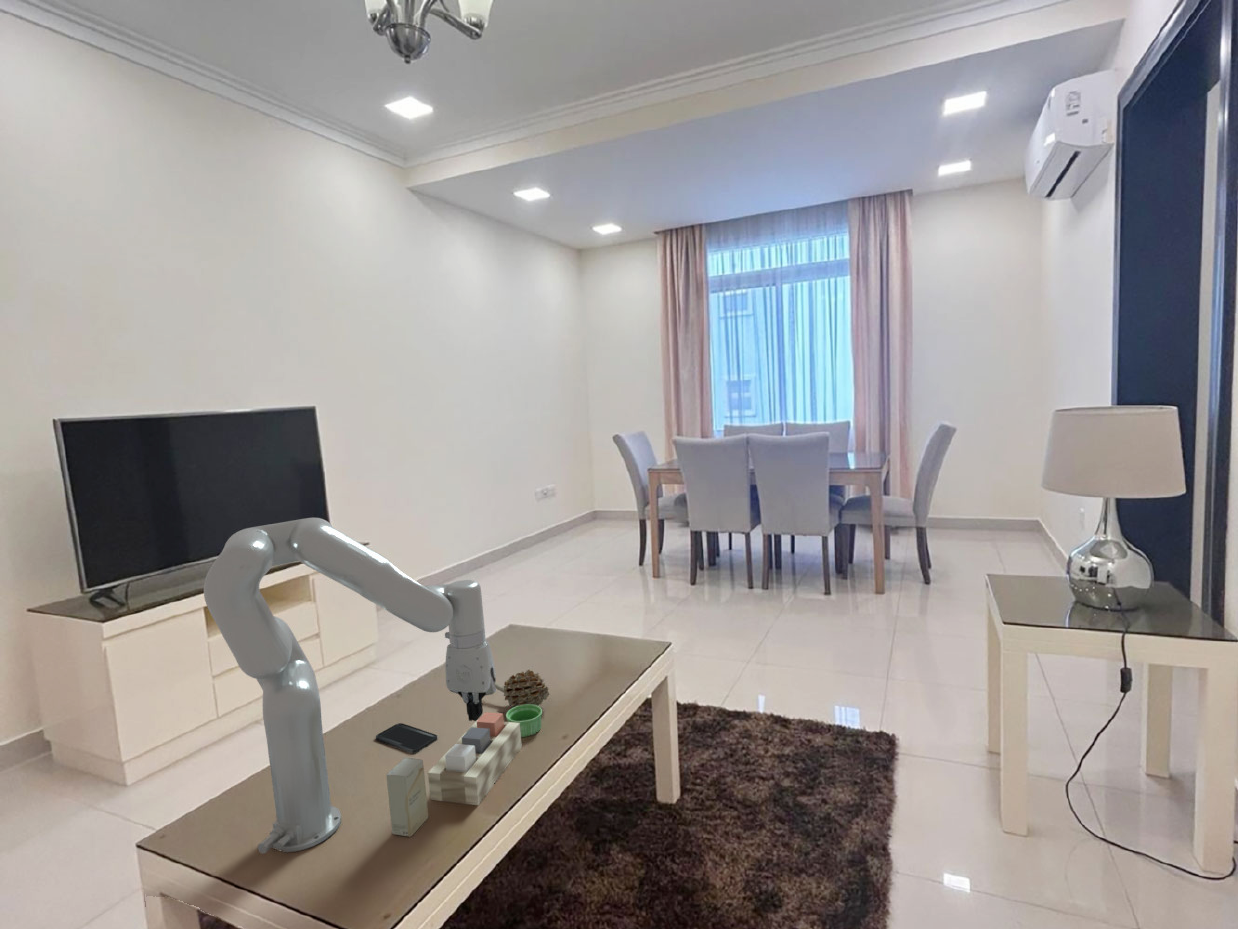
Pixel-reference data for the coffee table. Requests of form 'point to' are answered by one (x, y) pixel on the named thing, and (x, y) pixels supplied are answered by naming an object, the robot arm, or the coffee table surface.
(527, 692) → the pine cone
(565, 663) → the coffee table surface
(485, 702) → the coffee table surface
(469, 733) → the grey rectangular block
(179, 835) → the coffee table surface
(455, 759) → the white key
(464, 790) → the wooden compartment tray
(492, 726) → the brick key
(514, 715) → the ramekin
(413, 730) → the phone
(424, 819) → the skincare box
